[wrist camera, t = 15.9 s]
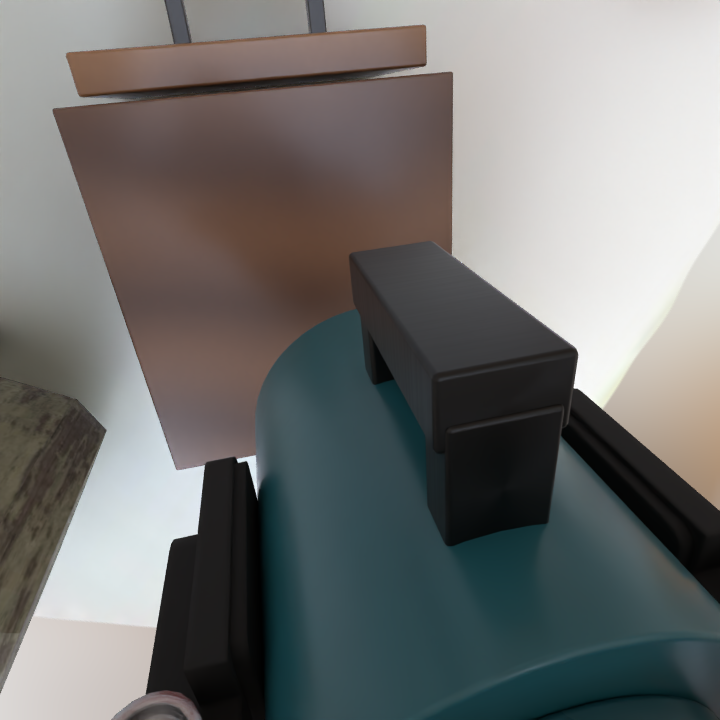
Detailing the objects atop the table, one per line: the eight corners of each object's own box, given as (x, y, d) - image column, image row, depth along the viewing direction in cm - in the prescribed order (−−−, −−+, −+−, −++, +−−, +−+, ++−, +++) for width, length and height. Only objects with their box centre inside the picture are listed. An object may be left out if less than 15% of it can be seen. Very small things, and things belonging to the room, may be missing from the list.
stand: (122, 106, 23) (51, 108, 15) (383, 81, 25) (453, 71, 16) (196, 367, 30) (176, 471, 21) (397, 333, 31) (451, 417, 23)
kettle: (208, 233, 10) (-99, 1370, 1) (495, 194, 10) (1662, 627, 2) (293, 591, 15) (361, 1258, 6) (479, 547, 16) (761, 1082, 7)
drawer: (90, -45, 20) (8, -123, 13) (367, -60, 21) (424, -136, 14) (194, 334, 28) (177, 409, 21) (389, 303, 29) (432, 363, 22)
